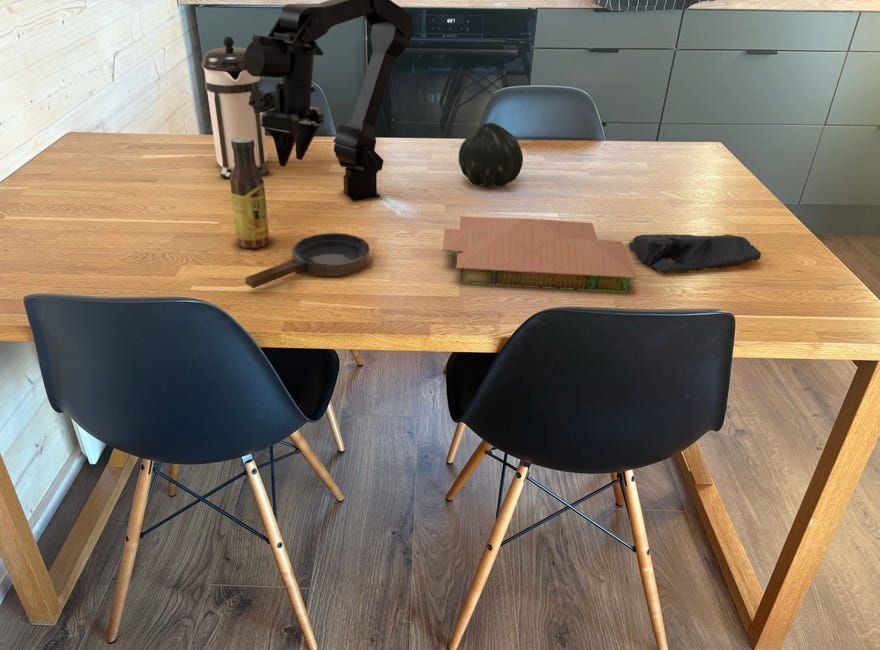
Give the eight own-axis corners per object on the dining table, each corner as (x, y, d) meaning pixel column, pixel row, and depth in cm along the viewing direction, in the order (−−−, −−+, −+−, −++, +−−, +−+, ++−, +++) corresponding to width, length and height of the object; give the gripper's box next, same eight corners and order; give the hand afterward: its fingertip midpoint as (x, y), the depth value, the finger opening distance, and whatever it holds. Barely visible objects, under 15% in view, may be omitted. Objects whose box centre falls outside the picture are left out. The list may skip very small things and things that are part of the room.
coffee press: (289, 166, 174) (279, 34, 157) (245, 184, 162) (228, 44, 146) (237, 153, 181) (222, 27, 165) (191, 170, 170) (170, 36, 153)
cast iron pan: (352, 240, 137) (352, 228, 135) (381, 269, 126) (381, 256, 125) (283, 252, 132) (282, 240, 130) (307, 284, 121) (306, 271, 120)
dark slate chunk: (769, 272, 127) (778, 248, 124) (652, 276, 125) (658, 252, 122) (729, 238, 139) (736, 215, 137) (622, 241, 137) (626, 218, 135)
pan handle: (296, 266, 125) (295, 257, 124) (305, 271, 124) (305, 262, 123) (245, 286, 119) (244, 277, 118) (254, 292, 117) (253, 282, 116)
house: (445, 231, 141) (447, 192, 136) (612, 239, 138) (620, 200, 134) (439, 283, 122) (441, 240, 117) (632, 294, 119) (642, 250, 115)
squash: (515, 146, 171) (481, 102, 162) (543, 167, 159) (509, 121, 150) (472, 187, 174) (436, 146, 164) (497, 211, 162) (461, 168, 153)
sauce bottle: (262, 251, 132) (251, 146, 121) (231, 248, 133) (217, 143, 122) (274, 237, 137) (264, 135, 126) (244, 235, 138) (232, 133, 127)
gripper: (275, 71, 142) (270, 149, 148) (236, 73, 125) (233, 162, 132) (327, 79, 140) (320, 158, 147) (294, 83, 123) (288, 172, 130)
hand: (291, 162), depth 139 cm, fingers open, 9 cm apart
